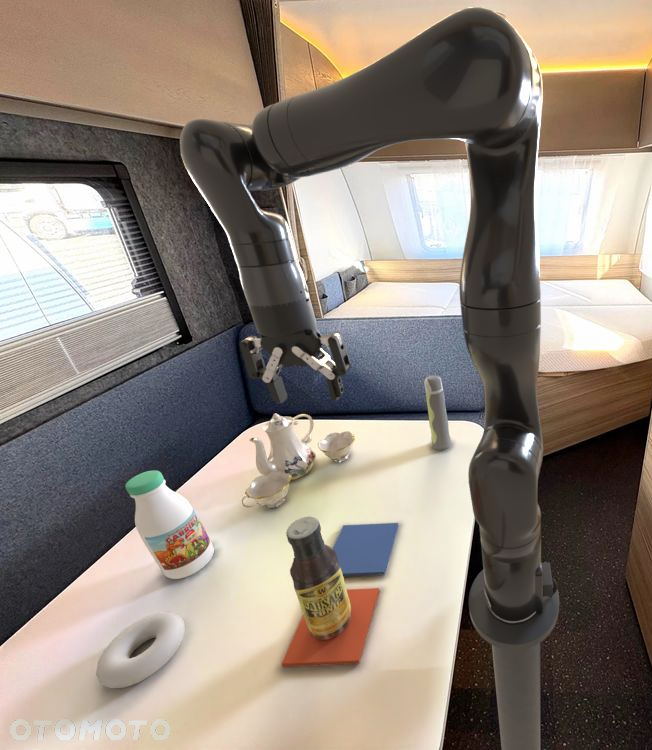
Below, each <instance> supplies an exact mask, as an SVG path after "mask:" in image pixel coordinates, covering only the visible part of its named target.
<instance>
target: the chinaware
mask: <svg viewBox="0 0 652 750" xmlns="http://www.w3.org/2000/svg"><path fill="white" fill-rule="evenodd" d="M303 417H305V418H307V419H308V421H309V428H308V430H307V433H306V434H305V435H304V436H303V437H302V438H301V439H300V438H299V436H298V435H297V433H296V430H295V427H294V426H297V425H298V424H299V421H298V419H299V418H303ZM313 429H314V420H313V418H312V416H310V414H309V415H308V414H306V413H301V414H297V415H296V416H294V417H292V416H287V415H286V416H282V415H280V414H278V413H273V415H272V417H271V419H270V420H269V421H267V422H266V423H264V424H263V426H262V431H264V432H265V433H266V435H267V436H268V439H269V445H270V449H269V450H270V451H269V455H268V456H267V452H266V447H265V445H264V442H263V440H261V439H260V438H258V437H251V438H249V439H248V441H249V442H251V443H253V444H254V445H255V466H256V469H257V471H258V472H259V474H261V475H259V476H257V477H255V478H254V479H253V480H252V481H251V483H250V485H249V487H248V488H245V491H244V494H245V495H244V496H243V497H242V498H241V506H243V507H245V508H253V507H254V506H256V505H257V504H259V507H263V506H267V508H268V509H269V508H270V509H271V508H272V509H273V508H278V507H279V506H281V505H282V504H283V503H284V502H285V498H286V496H287V494H288V493H289V489H290V482H292V481H293V482H294V481H296V480H299V479H301V478H303V477H305V476H306V475H307V474H309V473H310V472H311V471H312V470H313V467H314V461H315V460H316V458H317V454H316V453H315V452H314V451H313V449H312V448H311V446H310V445H309V444H310V443H311V442H312V440H313V438H312V437H313V436H311V434H312V432H313ZM355 441H356V437H355V434H353V433H352V432H351V431H349V430H347V431H342V432H341V433H340V432H330V433H329V434H327V435H326V436H325V438H324V439H322V440H319V442H317V447H318V449H319V451H321V452H322V453H323V454H324V455H325V456H326V457H327V458H328V459H331V460H333V462H335V463H342V462H344V461H347V460H348V458H349V454H350V453H351V452H352V449H353V444H354V443H355ZM245 498H247V499H253V500H254V502H255V503H253V504H250V505H247V504H244V500H245Z"/></svg>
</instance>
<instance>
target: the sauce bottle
mask: <svg viewBox="0 0 652 750" xmlns="http://www.w3.org/2000/svg"><path fill="white" fill-rule="evenodd" d="M321 532H322V526H321V523H320V521H319V519H318V517H317V518H316V517H315V516H312V515H310V516H303V517H300V518H298V519H296V520H295V521H293V522H292V523H291V524H290V525H289V526H288V527H287V529H286V533H285V534H286V538H287V542H288V543H289V545H291V547H292V551H293V561H292V564H291V567H290V569H289V574H290V577H291V579H292V582H293V588H294V591H295V595H296V597H297V601H298V603H299V606H300V608H301V612H302V616H303V615H304V618H305V621H306V623H307V626H308V629H309V630H310V632H311V634H312V636H313V637H315V638H316V639H318V640H328V639H332V638H333V637H336V636H337V635H339V634H340V633H341V632H342V631H343V630H344V629H345V628H346V627H347V625H348V624H349V621H350V617H351V604H350V601H349V597H348V593H347V590H348V589H347V586H346V582H345V577H343V574H342V571H341V567H340V564H339V562H338V559H337V555H336V551H335V550H333V547H331V546H329V545H328V544H325V541H324V539H323V536H322V533H321Z"/></svg>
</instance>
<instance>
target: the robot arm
mask: <svg viewBox="0 0 652 750" xmlns="http://www.w3.org/2000/svg"><path fill="white" fill-rule="evenodd" d="M543 94H544V91H543V76H542V72H541V68H540V65H539V62H538V60H537V58H536V55H535V53H534V51H533V50H532V48H531V47H530V46H529V44H528V43H527V41H526V40H524V38H523V37H522V35H520V33H519V32H518V30H517V29H516V28H515V27H514V26H513V25H512V24H511V23H510V22H509V21H508V20H507V19H506V18H505V17H504V16H502V15H501V14H499V13H497V12H496V11H494V10H491V9H489V8H486V7H482V6H475V7H473V6H472V7H471V6H470V7H466V8H463V9H460V10H457V11H455V12H453V13H451V14H449V15H447V16H445V17H444V18H442V19H441V20H439V21H436V23H434V24H432V25H431V26H429V27H427V28H426V29H424V30H423V31H421V32H420V33H418V34H416V35H415V36H414V37H412V38H411V39H409V40H408V41H407V42H405V43H403V44H402V45H401V46H398V48H396V49H394V50H393V51H391V52H390V53H388V54H386V55H384V56H382V57H381V58H379V59H377V60H375V61H374V62H372V63H370V64H368V65H367V66H365V67H363V68H361V69H360V70H357V71H356V72H354V73H352V74H350V75H348V76H346V77H344V78H341V79H339V80H336V81H334V82H333V83H330V84H328V85H325V86H322V87H320V88H317V89H314V90H310V91H308V92H305V93H302V94H299V95H295V96H292V97H290V98H286V99H284V100H281V101H278V102H275V103H273V104H270V105H268V106H266V107H264V108H262V109H261V110H260V111H258V112H257V113H256V115H255V117H254V118H253V121H252V124H243V123H235V122H228V121H221V120H214V119H209V118H208V119H206V118H196V119H192V120H189V121H188V122H187V123H186V124H185V125H184V126H183V127H182V129H181V133H180V136H179V151H180V156H181V159H182V161H183V164H184V167H185V169H186V171H187V173H188V175H189V176H190V178H191V180H192V182H193V183H194V185H195V186H196V188H197V189H198V191H199V193H200V194H201V196H202V197H203V198H204V200H205V201H206V203H207V204H208V206H209V207H210V210H211V212H212V213H213V214H214V216H215V217H216V219H217V221H218V222H219V224H220V225H221V227H222V228H223V230H224V232H225V234H226V236H227V240H228V243H229V246H230V249H231V251H232V254H233V257H234V261H235V263H236V266H237V270H238V275H239V280H240V284H241V288H242V291H243V294H244V297H245V299H246V303H247V305H248V309H249V311H250V314H251V317H252V320H253V323H254V326H255V329H256V331H257V333H258V334H259V335H260V338H259V337H257V336H255V335H250V336H248V337H246V338H245V339H243V340H241V341H239V348H240V351H241V355H242V358H243V361H244V364H245V368H246V371H247V374H248V377H249V379H250V380H256V379H259V380H262V381H263V382H264V383H265V385H266V387H267V389H268V393H269V395H270V398H271V399H272V400H273V401H275V403H276V404H283V403H284V402H285V401H286V400H287V399H288V393H287V390H286V386H285V384H284V381H283V378H282V376H279V374H280V373H281V370H282V368H283V366H284V367H285V368H291V367H295V366H297V367H307V366H308V365H309V367H311V368H312V369H313V370H314V371H316V372H317V371H318V372H320V373H321V374H322V375H323V376H324V377H326V378H327V379H326V384H327V388H328V392H329V395H330V400H331V401H332V402H338V401H339V400H340V399H341V397H342V396H343V394H344V392H345V387H344V383H343V379H342V377H341V376H345V375H346V374H347V372H348V371H349V370H350V369H351V368H352V362H351V358H350V355H349V352H348V349H347V346H346V342H345V340H344V336H343V334H342V332H340V331H335V332H334V333H331V334H321V332H320V331H319V329H318V325H317V319H316V315H315V311H314V307H313V304H312V299H311V295H310V293H309V292H310V291H309V286H308V284H307V281H306V278H305V274H304V272H303V270H302V267H301V264H300V262H299V259H298V255H297V252H296V248H295V245H294V240H293V236H292V233H291V229H290V227H289V224H288V222H287V220H286V219H285V218H284V217H283V215H281V214H279V213H276V212H272V211H268V210H264V209H261V207H260V206H259V205H258V203H257V202H256V201H255V198H253V196H252V194H251V192H257V191H260V192H262V191H271V190H275V189H280V188H284V187H286V186H289V185H291V184H293V183H294V182H296V181H298V180H300V179H302V178H308V177H311V176H316V175H320V174H324V173H330V172H333V171H335V170H340V169H343V168H346V167H348V166H352V165H353V164H357V163H359V161H362V160H364V159H366V158H367V157H369V156H370V155H372V154H373V153H375V152H378V151H379V150H382V149H384V148H387V147H390V146H393V145H397V144H402V143H406V142H411V141H412V142H413V141H424V140H425V141H427V140H449V139H450V140H460V141H462V142H464V147H465V152H466V153H465V154H466V160H467V170H468V179H469V191H470V210H469V219H468V225H467V230H466V235H465V241H464V246H463V252H462V258H461V264H460V272H459V283H458V284H459V285H458V287H459V289H458V290H459V304H460V315H461V324H462V332H463V338H464V343H465V346H466V349H467V353H468V355H469V357H470V359H471V362H472V364H473V367H474V368H475V370H476V372H477V374H478V376H479V378H480V380H481V384H482V387H483V392H484V408H485V409H484V413H485V414H484V428H483V432H482V435H481V438H480V441H479V442H478V445H477V447H476V449H475V451H474V453H473V455H472V458H471V459H470V462H469V466H468V472H467V473H468V488H469V494H470V501H471V507H472V513H473V516H474V519H475V521H476V523H477V524H478V525H479V536H480V545H481V546H480V547H481V556H482V567H483V569H484V578H485V588H486V592H485V589H484V593H485V595H486V603H487V607H488V609H489V611H490V613H491V614H492V615H493V616H494V617H495V618H496V619H497V620H499V621H501V622H503V623H506V624H511V625H517V624H522V623H525V622H527V621H529V620H530V619H532V618H533V617H534V616H535V615H536V614H542V613H543V597H545V596H549V597H550V598H552V596H553V595H554V594H555V593H556V591H557V589H558V588H559V586H558V583H557V581H556V580H555V578H554V577H552V570H551V564H550V562H542V512H541V507H540V505H539V503H538V488H539V487H538V485H539V477H540V473H541V468H542V464H543V458H544V438H543V432H542V426H541V417H540V411H539V403H538V379H539V378H538V377H539V369H540V358H541V337H542V336H541V333H542V293H541V292H542V291H541V273H540V272H541V271H540V270H541V269H540V246H539V232H538V230H539V229H538V220H537V219H538V217H537V202H536V201H537V198H536V197H537V196H536V194H537V192H536V190H537V174H538V173H537V172H538V159H539V148H540V147H539V145H540V134H541V124H542V123H541V122H542V111H543V99H544V95H543ZM323 345H324V346H325V347H326V349H327V350H328V351H330V353H331V356H332V359H333V360H332V359H331V356H330V355H329V354H328V353H327V352H326V351H325V350H324V349H323V348H322V346H323ZM262 350H264V351H265V352H266V353H267V354H268V355H269V356H270V357H269V360H268V361H267V364H266V365H265V360H264V357H263V354H262Z"/></svg>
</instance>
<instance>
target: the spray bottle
mask: <svg viewBox="0 0 652 750" xmlns="http://www.w3.org/2000/svg"><path fill="white" fill-rule="evenodd" d="M423 384H424V390H425V400H426V406H427V413H428V422H429V423H428V424H429V429H430V434H431V437H430V438H431V445H432V447H433V449H435V450H436V451H437V450H438V451H442V450H446V449H448V448H449V447H450V446H451V444H452V440H451V436H450V429H449V428H450V427H449V420H448V415H447V409H446V399H445V392H444V388H443V383H442V378H441V377H440V376H438V375H429V376H427V377H426V378H425V379H424V383H423Z"/></svg>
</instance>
